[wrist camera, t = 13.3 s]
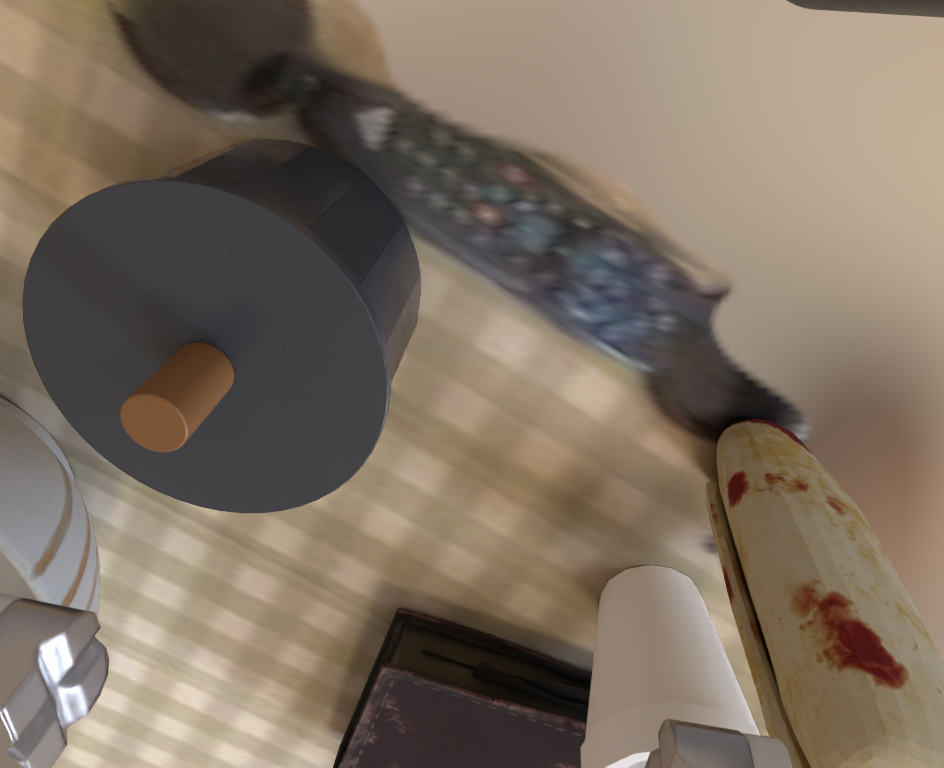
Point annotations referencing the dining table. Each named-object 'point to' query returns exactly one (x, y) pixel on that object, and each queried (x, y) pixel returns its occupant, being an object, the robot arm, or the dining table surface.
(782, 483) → the food model
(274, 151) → the pot
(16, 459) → the decorative bowl
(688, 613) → the foam cup
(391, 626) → the diary
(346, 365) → the lid
